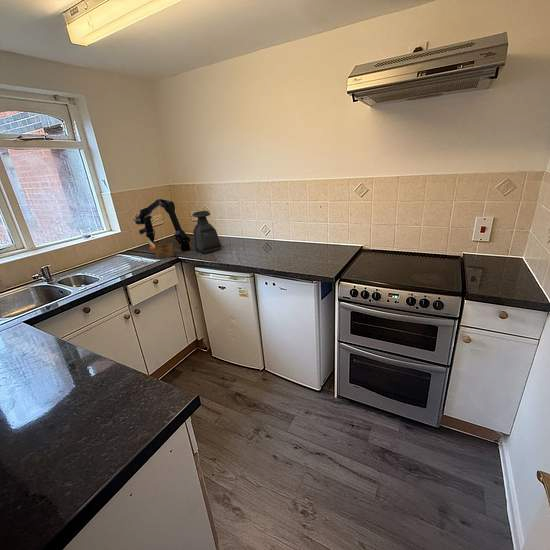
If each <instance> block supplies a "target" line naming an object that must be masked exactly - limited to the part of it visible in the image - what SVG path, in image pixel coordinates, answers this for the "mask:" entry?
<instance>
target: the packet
mask: <svg viewBox="0 0 550 550" xmlns="http://www.w3.org/2000/svg"><path fill="white" fill-rule="evenodd" d="M149 252H155V248H153V247H152V246H150V247H149Z"/></svg>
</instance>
